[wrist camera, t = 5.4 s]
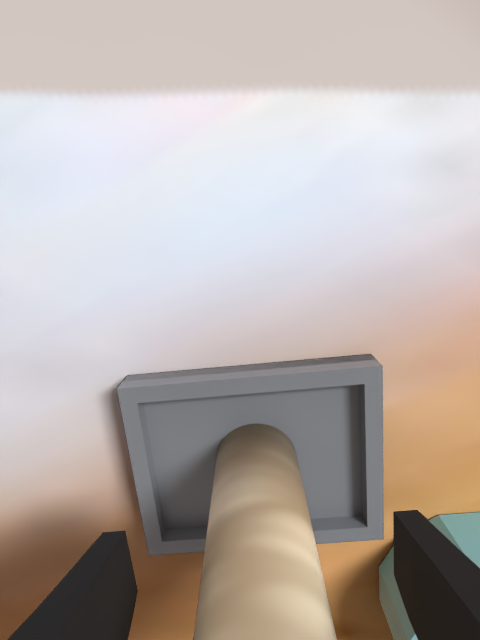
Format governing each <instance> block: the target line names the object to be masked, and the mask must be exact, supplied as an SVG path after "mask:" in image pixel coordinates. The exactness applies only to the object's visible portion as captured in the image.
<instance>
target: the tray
mask: <svg viewBox="0 0 480 640" xmlns="http://www.w3.org/2000/svg"><path fill="white" fill-rule="evenodd" d="M117 393H118V398H119V403H120V408H121V413H122V419H123V424H124V429H125V434H126V439H127V445H128V450H129V455H130V460H131V465H132V471H133V476H134V481H135V486H136V491H137V497H138V502H139V507H140V512H141V517H142V523H143V528H144V533H145V538H146V543H147V549H148V554H149V556H150V555H164V554H179V553H193V552H204V551H205V543H206V536H207V528H208V520H209V512H210V504H211V496H212V489H213V481H214V473H215V465H216V457H217V451H218V448H219V445H220V444H221V442H222V440H223V439H224V438H225V437H226V436H227V435H228V434H229V433H230V432H231V431H233V430H234V429H236V428H238V427H240V426H243V425H247V424H266V425H270V426H273V427H275V428H277V429H279V430H280V431H282V432H283V433H284V434H286V435H287V437H288V438H289V439H290V440H291V442H292V443H293V445H294V448H295V451H296V455H297V460H298V465H299V469H300V474H301V478H302V483H303V487H304V492H305V496H306V501H307V506H308V510H309V515H310V519H311V524H312V528H313V533H314V538H315V542H316V544H324V543H338V542H353V541H367V540H382V539H384V501H383V372H382V365H381V364H380V363H379V362H378V361H377V360H376V359H375V358H374V357H373V356H372V355H371V354H364V355H352V356H341V357H330V358H318V359H307V360H295V361H284V362H273V363H261V364H250V365H238V366H227V367H216V368H204V369H193V370H182V371H170V372H159V373H147V374H136V375H127V376H126V378H125V379H124V380H123V382H122V383H121V384H120V385H119V387H118V388H117Z"/></svg>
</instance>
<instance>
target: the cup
mask: <svg viewBox="0 0 480 640" xmlns="http://www.w3.org/2000/svg"><path fill="white" fill-rule="evenodd" d="M429 521H430V522H431V523H432V524H433V525H434V526H435V527H436V528H437V529H438V530H439V531H440V532H441V533H442V534H443V535H444V536H446V537H447V538H448V539H449V540H450V541H451V542H452V543H453V544H454V545H455V546H456V547H457V548H458V549H459V550H461V551H462V552H463V553H464V554H465V555H466V556H467V557H468V558H469V559H470V560H471V561H473V562H474V563H475V564H476V565H477V566H478V567H479V568H480V512H475V513H461V514H447V515H437V516H436V517H434V518H432V519H430V520H429ZM379 600H380V603H381V606H382V609H383V611H384V614H385V617H386V620H387V623H388V625H389V628H390V631H391V634H392V637H393V639H394V640H418V638H417V636H416V634H415V632H414V630H413V627H412V625H411V623H410V620H409V618H408V615H407V612H406V609H405V606H404V604H403V601H402V598H401V595H400V592H399V589H398V586H397V583H396V580H395V577H394V545H393V547H392V548H391V550H390V551H389V553H388V554H387V556H386V557H385V559H384V560H383V562H382V563H381V565H380V566H379Z"/></svg>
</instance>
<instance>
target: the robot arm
mask: <svg viewBox="0 0 480 640" xmlns="http://www.w3.org/2000/svg"><path fill="white" fill-rule="evenodd" d="M394 577H395V580H396V583H397V586H398V589H399V592H400V595H401V598H402V601H403V604H404V606H405V609H406V612H407V615H408V618H409V620H410V623H411V625H412V627H413V630H414V632H415V634H416V636H417V638H418V640H480V568H479V567H478V566H477V565H476V564H475V563H474V562H473V561H471V560H470V559H469V558H468V557H467V556H466V555H465V554H464V553H463V552H462V551H461V550H459V549H458V548H457V547H456V546H455V545H454V544H453V543H452V542H451V541H450V540H449V539H448V538H447V537H446V536H444V535H443V534H442V533H441V532H440V531H439V530H438V529H437V528H436V527H435V526H434V525H433V524H432V523H431V522H430V521H429V520H428V519H427V518H425V517H424V516H423V515H422V514H421V513H420V512H419V511H418V510H410V511H396V512H394ZM136 597H137V586H136V581H135V576H134V571H133V567H132V562H131V557H130V552H129V547H128V543H127V538H126V533H125V531H117V532H103V533H102V534H101V536H100V537H99V538H98V539H97V540H96V541H95V542H94V543H93V545H92V546H91V547H90V548H89V549H88V550H87V552H86V553H85V554H84V555H83V556H82V557H81V559H80V560H79V561H78V562H77V563H76V564H75V566H74V567H73V568H72V569H71V570H70V571H69V573H68V574H67V575H66V576H65V577H64V578H63V579H62V581H61V582H60V583H59V584H58V585H57V586H56V587H55V589H54V590H53V591H52V592H51V593H50V594H49V595H48V596H47V598H46V599H45V600H44V601H43V602H42V603H41V604H40V605H39V607H38V608H37V609H36V610H35V611H34V612H33V613H32V614H31V615H30V616H29V618H28V619H27V620H26V621H25V622H24V623H23V624H22V625H21V626H20V627H19V628H18V629H17V630H16V631H15V632H14V633H13V634H12V635H11V637H10V638H9V639H8V640H128V636H129V631H130V626H131V622H132V617H133V612H134V607H135V602H136Z"/></svg>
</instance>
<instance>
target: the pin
mask: <svg viewBox="0 0 480 640" xmlns="http://www.w3.org/2000/svg"><path fill="white" fill-rule="evenodd" d="M193 640H337V638H336V633H335V629H334V624H333V620H332V615H331V610H330V606H329V601H328V597H327V592H326V588H325V583H324V579H323V574H322V569H321V565H320V560H319V556H318V551H317V547H316V542H315V538H314V533H313V528H312V524H311V519H310V515H309V510H308V506H307V501H306V496H305V492H304V487H303V483H302V478H301V474H300V469H299V465H298V460H297V455H296V451H295V448H294V445H293V443H292V442H291V440H290V439H289V438H288V437H287V435H286V434H284V433H283V432H282V431H280V430H279V429H277V428H275V427H273V426H270V425H266V424H247V425H243V426H240V427H238V428H236V429H234V430H233V431H231V432H230V433H229V434H228V435H227V436H226V437H225V438H224V439H223V440H222V442H221V444H220V445H219V448H218V451H217V457H216V465H215V473H214V481H213V489H212V496H211V504H210V512H209V520H208V528H207V536H206V543H205V551H204V559H203V567H202V575H201V583H200V590H199V598H198V606H197V614H196V622H195V630H194V638H193Z"/></svg>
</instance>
